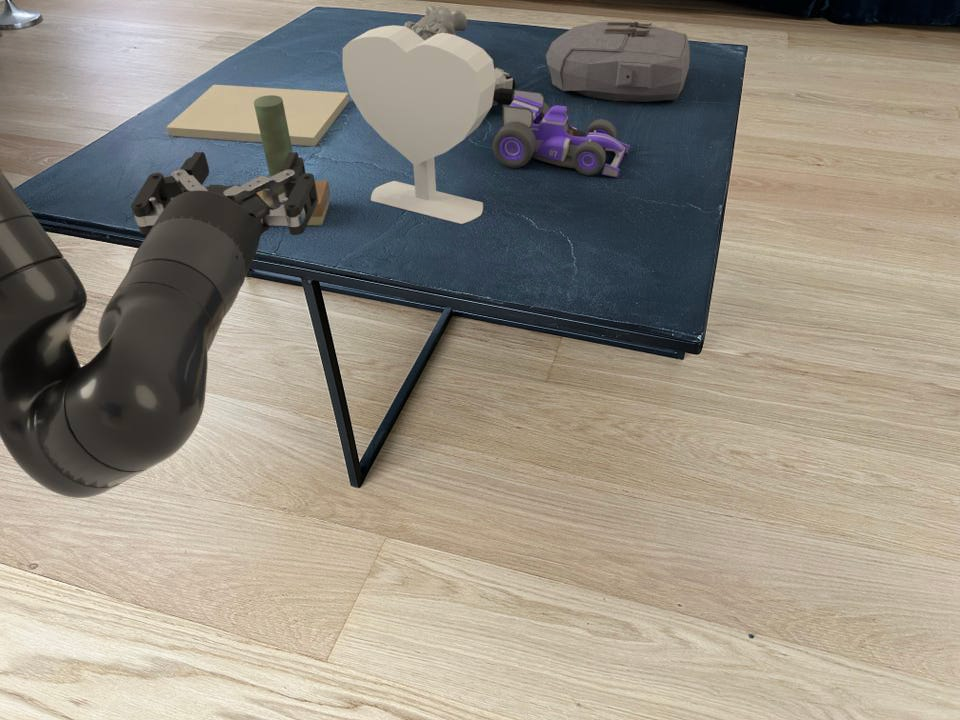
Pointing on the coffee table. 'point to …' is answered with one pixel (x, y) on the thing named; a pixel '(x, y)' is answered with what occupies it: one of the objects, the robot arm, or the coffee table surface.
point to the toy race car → (554, 138)
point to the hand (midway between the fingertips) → (249, 161)
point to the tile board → (235, 115)
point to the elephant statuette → (438, 22)
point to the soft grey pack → (620, 61)
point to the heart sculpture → (420, 107)
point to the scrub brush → (283, 149)
